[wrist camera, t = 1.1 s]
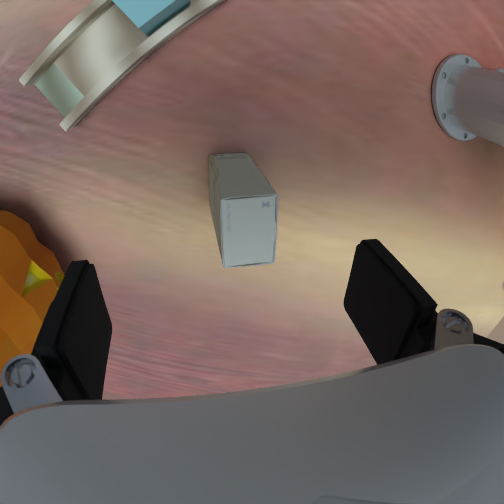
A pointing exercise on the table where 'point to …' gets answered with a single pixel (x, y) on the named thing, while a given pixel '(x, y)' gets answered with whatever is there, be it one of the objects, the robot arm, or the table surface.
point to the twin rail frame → (99, 55)
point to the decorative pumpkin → (23, 286)
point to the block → (151, 12)
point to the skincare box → (242, 210)
